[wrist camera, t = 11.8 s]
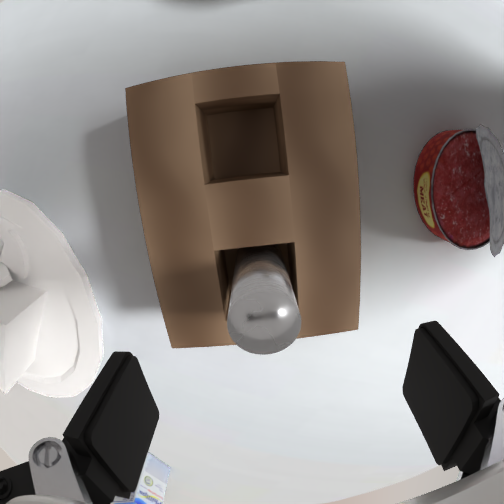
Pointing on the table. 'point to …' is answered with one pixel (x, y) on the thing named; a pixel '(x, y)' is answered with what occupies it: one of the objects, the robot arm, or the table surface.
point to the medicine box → (149, 483)
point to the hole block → (248, 190)
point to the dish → (44, 306)
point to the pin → (262, 302)
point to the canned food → (462, 188)
